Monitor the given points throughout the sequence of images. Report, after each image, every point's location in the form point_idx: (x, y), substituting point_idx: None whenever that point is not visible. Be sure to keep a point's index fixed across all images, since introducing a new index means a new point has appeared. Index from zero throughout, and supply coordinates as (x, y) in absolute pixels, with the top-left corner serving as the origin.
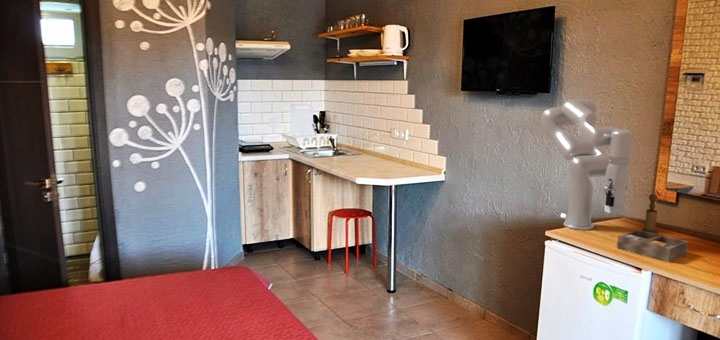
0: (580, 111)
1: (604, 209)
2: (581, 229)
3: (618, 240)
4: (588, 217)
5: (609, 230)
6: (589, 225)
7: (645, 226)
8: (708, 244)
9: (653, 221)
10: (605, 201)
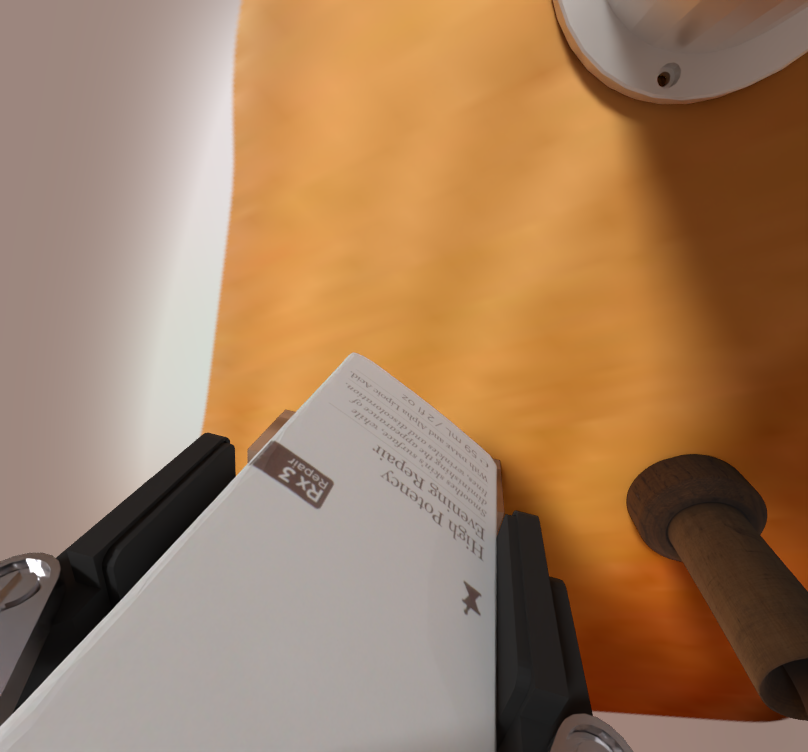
0: None
1: (344, 360)
2: (563, 29)
3: (261, 439)
4: (714, 5)
5: (709, 245)
6: (698, 52)
7: (698, 526)
8: (679, 704)
9: (711, 610)
10: (283, 425)
